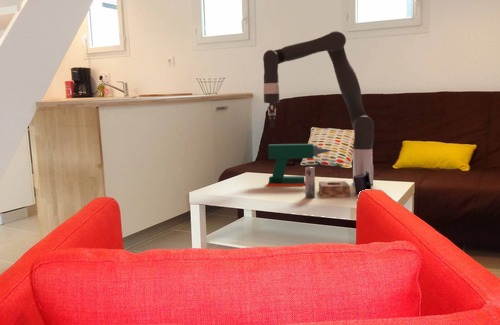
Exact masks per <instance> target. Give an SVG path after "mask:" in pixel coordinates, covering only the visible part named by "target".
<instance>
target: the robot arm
mask: <svg viewBox="0 0 500 325" xmlns="http://www.w3.org/2000/svg"><path fill="white" fill-rule="evenodd" d="M346 42H347V38H346V36H345V34H344V33H343V32H342V31H339V30H333V31H331V32H329V33H327V34H325V35H323V36H320V37H318V38H317V37H316V38H314V39H311V40H308V41H302V42H298V43H294V44H291V45H287V46H283V47H282V48H278V49H274V50H272V49H268V50H266V51H265V52H264V54H263V58H262V60H263V70H264V71H263V103H264V104H269V105H268V107H267V111H268V116H269V117H268V118H269V127H270V128H275V124H276V123H275V119H276V113H277V112H276V111H277V107H276V106H275V103H277V104H278V103H280V86H279V71H278V70H279V64H283V63H285V62H291V61H295V60H300V59H302V58H306V57H308V56H311V55H315V54H317V53H321V52H327V54H328V56H329V58H330V60H331V63H332V66H333V70H334V74H335V76H336V81H337V83H338V87H339V91H340V93H341V96H342V97H343V98H342V99H343V101H344V102H345V105H346V107H347V111H348V114H349V117H350V122H351V127H352V131H354V134H353V136H354V140H353V143H352V184H354V178H353V177H354V176H356V175H361V174H366V171H367V172H369V177H370V184H371V185H374V164H373V145H374V140H375V124H374V121H373V119H372V118H371V117H370V116H368V115H367V113H366V110H365V107H364V105H363V101H362V100H363V99H362V90H361V87H360V83H359V79H358V76H357V74H356V72H355V69H354V68H353V67H352V65H351V63H350V61H349V60H348V57H347V54H346V51H345V45H346ZM354 185H355V184H354Z"/></svg>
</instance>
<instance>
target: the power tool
mask: <svg viewBox="0 0 500 325" xmlns="http://www.w3.org/2000/svg"><path fill="white" fill-rule="evenodd" d="M267 148H268V151H267V152H268V154H267V155H268V160H275V164H274V167H273V172H272V176H271V175H270V176H269V177H268V183H267V187H305V176H303V175H301V176H299V175H298V176H297V175H295V176H294V175H293V176H290V175H289V176H284V175H285V172H286V168H287V167H296V159H314V157H318V155H320V154H324V153H329V152H333V150H331V149H327V148H322V147H318V145H317V144H316V145H314V144H313V143H278V144H277V143H275V144H273V143H272V144H270V143H269V144H268V145H267ZM288 159H289V160H290V159H292V162H288Z"/></svg>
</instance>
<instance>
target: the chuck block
mask: <svg viewBox="0 0 500 325" xmlns="http://www.w3.org/2000/svg"><path fill="white" fill-rule="evenodd" d="M318 192H319V194H320V197H324V198H326V197H329V198H331V197H351V196H350V195H351V194H350V193H351V188H350V184H349V183H348V181H346V180H341V181H340V180H338V181H336V180H334V181H332V180H331V181H327V180H326V181H318Z"/></svg>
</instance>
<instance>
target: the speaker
mask: <svg viewBox="0 0 500 325" xmlns="http://www.w3.org/2000/svg"><path fill="white" fill-rule="evenodd" d="M353 178H354V190H355V195H356V196H359V195H358V194H359V192H360V191H362V190H365V189H371V190H372V186H371V185H372V184H370V177H369V172H367V171H366V174H361V175H356V176H354V177H353V176H352V179H353Z"/></svg>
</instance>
